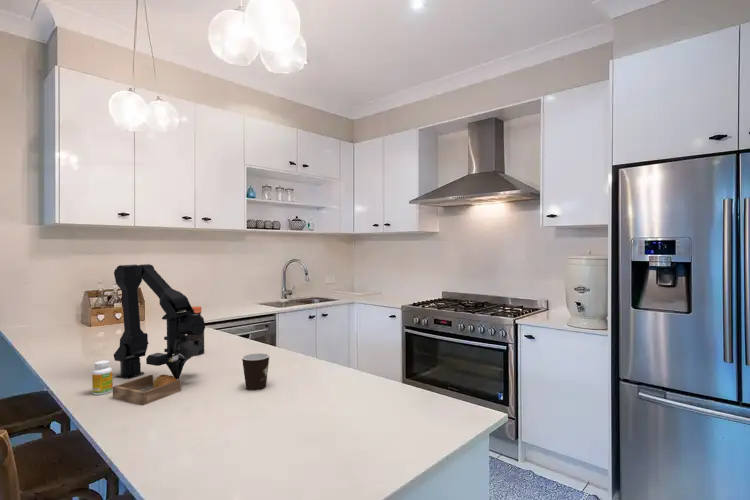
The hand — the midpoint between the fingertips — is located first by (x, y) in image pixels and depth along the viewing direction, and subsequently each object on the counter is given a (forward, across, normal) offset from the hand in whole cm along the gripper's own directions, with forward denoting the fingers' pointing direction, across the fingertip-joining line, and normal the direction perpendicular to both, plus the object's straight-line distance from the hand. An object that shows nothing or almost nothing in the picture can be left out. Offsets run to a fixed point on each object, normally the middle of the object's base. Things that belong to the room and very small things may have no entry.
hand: (177, 379), depth 142 cm
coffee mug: (+2, +10, -27) cm, 29 cm away
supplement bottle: (+2, -15, +15) cm, 22 cm away
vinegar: (+2, +31, +25) cm, 40 cm away
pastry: (+2, -4, 0) cm, 5 cm away
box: (+2, -10, 0) cm, 11 cm away
